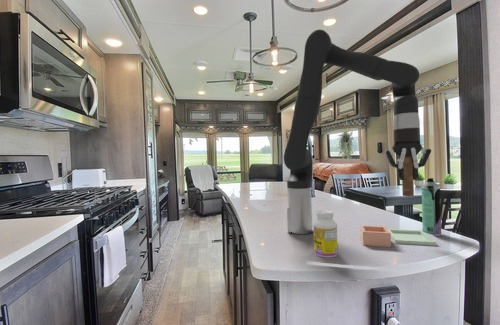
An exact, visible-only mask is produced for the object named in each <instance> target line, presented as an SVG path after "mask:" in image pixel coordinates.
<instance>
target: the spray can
mask: <svg viewBox="0 0 500 325" xmlns="http://www.w3.org/2000/svg"><path fill="white" fill-rule="evenodd" d="M441 202H442V201H441V185H440V184H438V183H436V181H435V180H434V177H433V178H432V177H430V178H427V180H426V181H425V182H424V183H423V184H421V212H422V213H421V217H422V220H421V221H422V222H421V224H422V231H423V232H424V233H425V234H430V235H432V236H434V237H441V236H442V207H441V206H442V205H441Z"/></svg>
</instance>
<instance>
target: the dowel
mask: <svg viewBox="0 0 500 325" xmlns="http://www.w3.org/2000/svg"><path fill="white" fill-rule="evenodd" d="M402 169H403V180H401V182H402V183H401V184H402V185H401V186H402V187H401V188H402V189H401V190H402V192H401V193H402V196H403V197H414V196H415V193H414V190H415V189H414V186H415V185H414V183H415V182H414V180H413V160H412V157H405V158H404V162H403V167H402Z"/></svg>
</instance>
